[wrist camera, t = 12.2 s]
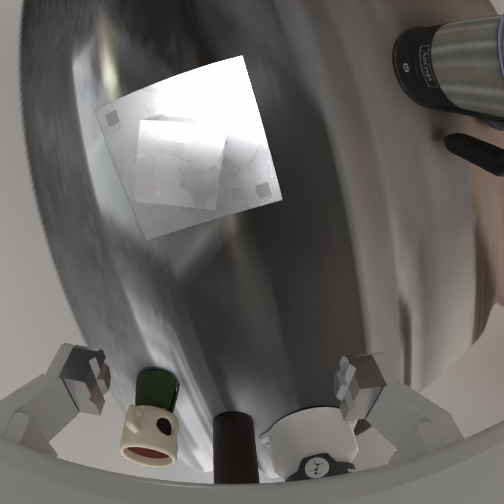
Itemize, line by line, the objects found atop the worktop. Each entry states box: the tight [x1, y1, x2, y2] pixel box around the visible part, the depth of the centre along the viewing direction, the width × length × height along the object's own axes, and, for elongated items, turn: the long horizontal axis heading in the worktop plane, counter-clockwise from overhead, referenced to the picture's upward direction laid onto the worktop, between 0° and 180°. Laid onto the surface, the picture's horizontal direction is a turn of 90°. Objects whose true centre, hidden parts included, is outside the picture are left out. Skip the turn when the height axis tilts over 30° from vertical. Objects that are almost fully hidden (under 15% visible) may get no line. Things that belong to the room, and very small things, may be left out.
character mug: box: [120, 370, 180, 468], centre depth 35 cm, size 11×7×13 cm, turn 13°
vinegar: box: [213, 412, 260, 484], centre depth 38 cm, size 7×7×20 cm
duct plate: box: [95, 56, 282, 241], centre depth 25 cm, size 14×14×4 cm
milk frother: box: [393, 15, 504, 177], centre depth 17 cm, size 14×16×15 cm
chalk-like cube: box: [135, 116, 227, 210], centre depth 24 cm, size 6×6×6 cm
